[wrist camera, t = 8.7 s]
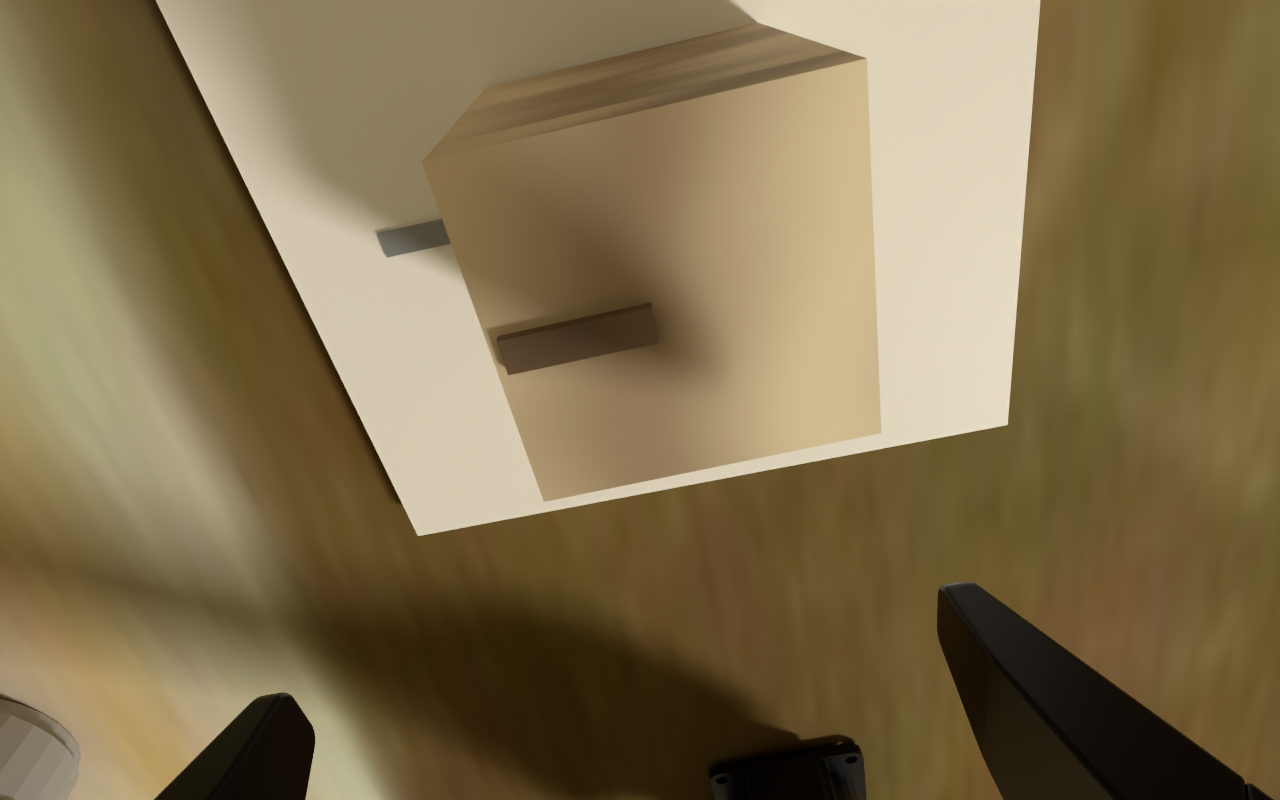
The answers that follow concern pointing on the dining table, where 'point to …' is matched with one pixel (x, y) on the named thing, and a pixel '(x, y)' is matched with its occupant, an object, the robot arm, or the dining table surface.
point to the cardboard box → (672, 255)
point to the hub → (562, 38)
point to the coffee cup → (35, 755)
